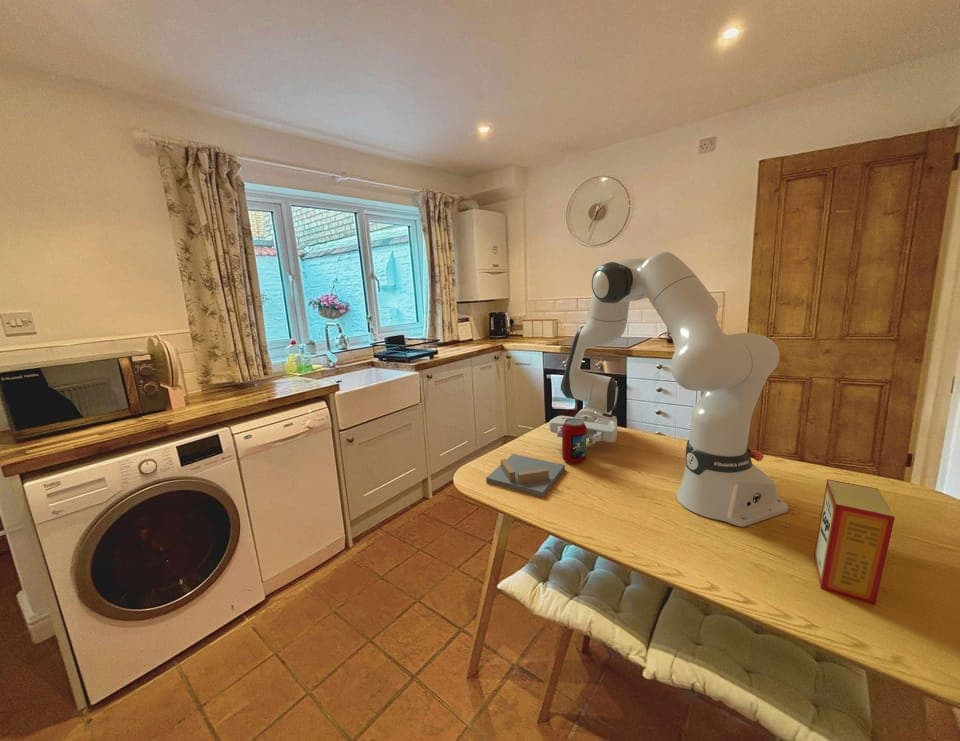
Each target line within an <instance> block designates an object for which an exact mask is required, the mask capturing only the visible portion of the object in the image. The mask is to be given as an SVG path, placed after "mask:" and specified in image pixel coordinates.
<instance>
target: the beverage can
mask: <svg viewBox="0 0 960 741" xmlns="http://www.w3.org/2000/svg"><path fill="white" fill-rule="evenodd" d="M561 443H562V444H561V446H562V447H561V448H562V449H561V453H562V454H561V455H562V456H561V457H562V460H564V461H565V462H567V463H568V464H573V465H578V464H582V463H583V462H584V461H586V460H587V458H586V457H587V438H586V425H585V424H584V421H583V420H581V419H576V418H571V419H567V420H565V423H564V424H563V426H562V438H561Z"/></svg>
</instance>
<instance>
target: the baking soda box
mask: <svg viewBox="0 0 960 741" xmlns="http://www.w3.org/2000/svg"><path fill="white" fill-rule="evenodd" d="M824 490H825V491H824V495H823V496H824V497H823V502H822V506H821V513H820V518H819V523H818V531H817V534H816V535H817V537H816V542H815V546H814V547H815V548H814V554H813V557H814V561H815V567H816V572H817V576H818V580H819V586H820V589H821V590H823V591H826V592H830V593H834V594H837V595H841V596H843V597H847V598H850V599H853V600H857V601H859V602H863V603H867V604H869V605H873V606H876V604H877V598H878V595H879V594H878V593H879V590H880V585H881V580H882V577H883V576H882V575H883V571H884V567H885V563H886V559H887V558H886V557H887V554H888V551H889V550H888V549H889V545H890V540H891V535H892V531H893V526H894V523H895V519H896V518H895V515H894V514H893V512H892V510H891V508H890V507H889V505H888V503H887V501H886V500H885V498H884V496H883V495H882V493H881V491H880V489H879V488H876V487H872V486H871V487H870V486H867V485H866V486H864V485H859V484H855V483H849V482H845V481H839V480H833V479H829V478H827V479H826V484H825V489H824Z"/></svg>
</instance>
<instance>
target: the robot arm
mask: <svg viewBox="0 0 960 741" xmlns="http://www.w3.org/2000/svg"><path fill="white" fill-rule="evenodd" d="M591 290H592V295H591V300H590V303H589V304H590V305H589V312H588V319H587V321H586V323H585V325H582V326H580V327H579V329H578V330H577V331H576V333H575V335H574V338H573V341H572V345H571V349H570V352H569V355H568V360H567V362H566V363H567V364H566V367H565V371H564V373H563V377H562V379H561V381H560V390H561V391H560V392H562V394H563V396H564V397H565V398H566V399H569V400H570V399H571V400H578V401H581V402H582V401H583V402H586V404H585V406H583V408H582V409H580V410H579V411H578V412H577V413H576V414H575V415H574V416H568V415H558V416H555V417H553V418H552V419H550V420H549V424H548V426H549V428H548V429H549V432H550V433H553V434H556V436H557V438H561V439H562V426H563V424H564V423H565V420H567V419H571V418H576V419H581V420H583V421H584V424H585V425H586V439H588V443H591V444H595V443H596V442H606V443H616V441H617V438H618V419H617V416H615V415H612V413H613V412H612V411H613V410H614V409H615V408H616V407H617V403H618V399H619V394H620V389H619V388H620V387H619V385H618V383H617V381H616V380H615V379H614V378H613V377H611V376H606V375H603V374H602V375H601V374H597V373H590V372H586V371H583V370H582V369H581V366H582V362H583V359H584V355H585V352H586V350H587V349H590V348H594V347H599V346H603V345H608V344H612V343H613V342H616V341H617V340H618V339H620V338H621V337H622V336H623V335H624V333H625V330H626V328H627V325H628V324H627V323H628V317H629V306H630V304H631V301H632V302H636V301H640V300H644V299H648V300H649V303H651V305H652V307H653V308H654V310H655V311H656V313H657V315H658V316H659V317H660V319H661V320H662V321H663V323H664V325H665V327H666V328H667V329H668V332H669V334H670V337H671V339H672V343H673V347H674V352H673V355H672V357H671V361H670V371H671V374H672V377H673V379H674V380H675V382H676V383H677V384H678V385H679V386H680V387H682V388H683V389H685V390H688V391H694V392H703V394H702V396H701V397H700V398H699V399H698V400H697V402H696V403H695V405H694V406H693V407H692V410H691V414H690V425H689V426H690V427H689V436H688V438H689V439H688V440H687V441H686V448H685V468H684V472H683V476H682V480H681V482H680V484H679V485H680V486H679V488H678V490H677V492H676V499H677V501H678V502H679V504H680V505H681V506H683V507H684V508H686V509H687V510H688V511H691V512H693V513H694V514H696V515H699V516H702V517H705V518H708V519H712V520H718V521H722V522H726V523H728V524H732V525H734V526H736V527H740V528H741V527H743V528H744V527H748V526H751V525H753V524H756V523H759V522H762V521H764V520H767V519H772V518H774V517H776V516H780V515H782V514H785V513H787V512H789V506H788V504H787V503H786V502H785V501H784V499H782V498H781V497H780V496H779V495H777V486H776V483H775V481H774V480H773V479H772V478H771V477H770V476H769V475H768V474H767V473H765V471H763V470H761V469H760V468H759V467H757V466H756V465H755V464H753V461H752V459H753V460H755V461H757V462H761V461H762V460H763V459H764V453H763V452H761V451H758V450H756V449H752V450H751V449H750V448H749V447H748V442H749V432H750V427H751V420H752V416H753V413H754V410H755V407H756V404H757V402H758V401H759V397H760V395H761V393H762V390H763V389H764V385H765V384H766V381H767V380H768V378H769V376H770V375H771V374H772V372H774V371H775V369H776V368H777V366H778V365H779V362H780V351H779V348H778V346H777V345H776V343H775V342H774V341H773V340H772V339H770V338H769V337H767V336H766V335H765V336H764V335H761V334H757V333H751V332H739V333H738V332H737V333H733V334H726V333H724V331H723V330H722V329H721V327H720V325H719V322H718V320H717V314H718V311H719V304H718V302H717V300H716V299H715V297H714V296H713V295H712V294H711V292H710V291H709V290H708V289H707V287H706V286H705V285H704V284H703V283H702V281H701V280H700V278H699V277H698V276H697V274H696V273H694V271H693V270H692V269H691V268H690V267H689V266H688V265H687V264H686V263H685V262H684V261H682V260H681V259H680V258H679V257H678V256H677V255H676V254H673V253H672V252H670V251H659V252H656V253H654V254H652V255H650V256H648V257H636V258H634V257H633V258H632V257H631V258H625V259H621V260H617V261H610V262H606V263H604V264H602V265H600V266H598V267H597V268H596V269H595V270H594V272H593V274H592V277H591Z"/></svg>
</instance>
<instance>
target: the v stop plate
mask: <svg viewBox="0 0 960 741" xmlns="http://www.w3.org/2000/svg"><path fill="white" fill-rule="evenodd" d="M565 467H566V466H565V464H562V463H558V462H553V461H548V460H544V459H539V458H534V457H529V456H525V455H521V454H520V455H519V454H515V453H513V454H511V455H510V456H509V457H508V458H503V459H500V465H499V466H497V467H496V468H495V469H494V470H493V471H492V472H490V473H489V474H488V475H487V476H486V477H485V482H487V483H486V484H489V483H491V484H490V485H493V484H494V486H497V485H498V487H501V488H504V487H505V489H508V488H509V490H512V489H513V490H512V491H516V492H520V493H524V494H528V495H532V496H536V497H539V498H541V499H542V498H544V497H545V496H546V494H547V493H548V492H549V490H550V489H551V488H552V487H553V485H554V484H555V483H556V481H557V480H558V479H559V478H560V477H561V475H562V474H563V472H564V471H565V470H566V468H565Z"/></svg>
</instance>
